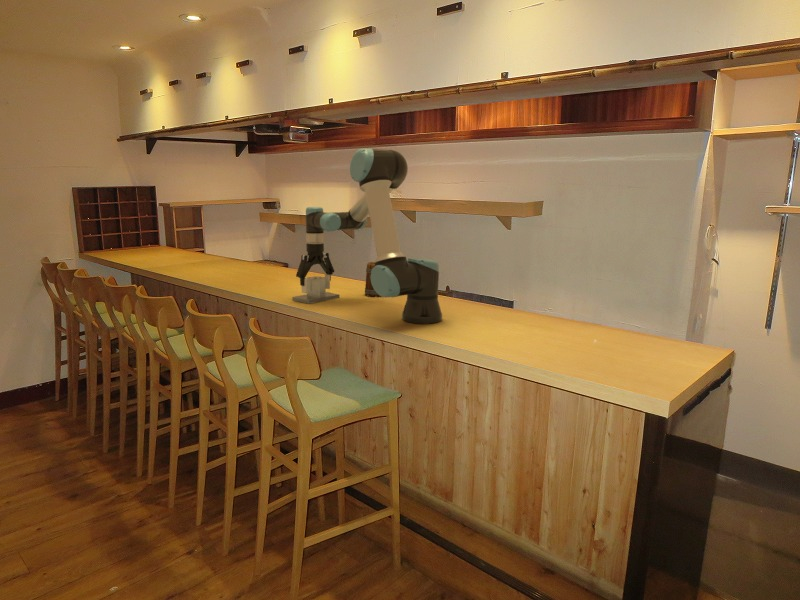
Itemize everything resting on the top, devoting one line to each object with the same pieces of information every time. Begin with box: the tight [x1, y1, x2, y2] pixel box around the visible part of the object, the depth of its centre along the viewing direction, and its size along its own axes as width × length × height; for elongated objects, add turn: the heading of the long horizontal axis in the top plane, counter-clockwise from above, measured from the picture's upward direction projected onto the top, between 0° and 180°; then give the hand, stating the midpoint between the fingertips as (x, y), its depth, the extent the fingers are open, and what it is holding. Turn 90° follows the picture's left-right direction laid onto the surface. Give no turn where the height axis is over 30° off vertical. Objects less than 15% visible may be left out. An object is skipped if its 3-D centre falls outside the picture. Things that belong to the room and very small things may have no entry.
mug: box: [364, 261, 382, 298], centre depth 245 cm, size 16×11×15 cm
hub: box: [306, 276, 327, 298], centre depth 235 cm, size 8×8×8 cm
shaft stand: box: [291, 275, 341, 305], centre depth 236 cm, size 11×18×10 cm, turn 141°
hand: (316, 290), depth 236 cm, fingers open, 13 cm apart
